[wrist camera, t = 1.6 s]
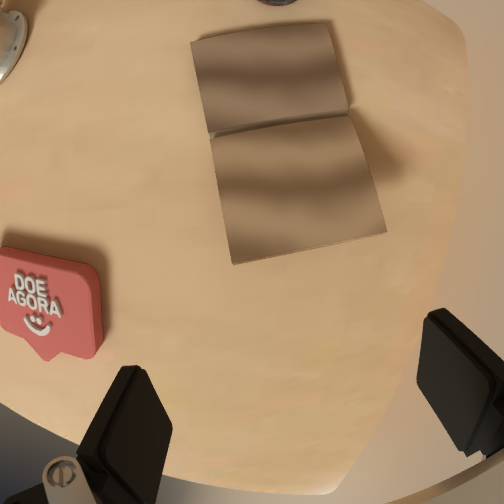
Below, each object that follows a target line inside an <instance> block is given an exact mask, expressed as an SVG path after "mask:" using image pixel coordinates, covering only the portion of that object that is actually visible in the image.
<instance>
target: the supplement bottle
mask: <svg viewBox="0 0 504 504" xmlns="http://www.w3.org/2000/svg"><path fill="white" fill-rule="evenodd" d="M258 1H260V2H262V3H264V4H267V5H272V6H284V5H288V4H291V3H293V2H295V1H296V0H258Z"/></svg>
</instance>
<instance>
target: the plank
mask: <svg viewBox="0 0 504 504" xmlns="http://www.w3.org/2000/svg"><path fill="white" fill-rule="evenodd" d="M210 143H211V149H212V155H213V161H214V167H215V172H216V178H217V184H218V189H219V195H220V201H221V206H222V212H223V217H224V223H225V228H226V234H227V239H228V245H229V250H230V255H231V260H232V264H233V265H236V264H241V263H246V262H251V261H256V260H261V259H266V258H271V257H276V256H281V255H286V254H291V253H295V252H300V251H305V250H310V249H315V248H320V247H325V246H329V245H334V244H339V243H344V242H348V241H353V240H358V239H363V238H367V237H372V236H377V235H382V234H384V233H386V232H387V229H386V225H385V221H384V217H383V214H382V210H381V206H380V203H379V199H378V196H377V193H376V189H375V186H374V183H373V179H372V176H371V173H370V170H369V167H368V164H367V161H366V158H365V155H364V152H363V149H362V146H361V144H360V141H359V138H358V135H357V133H356V130H355V127H354V125H353V122H352V119H351V117H350V116H346V117H337V118H328V119H320V120H312V121H305V122H298V123H291V124H285V125H278V126H272V127H267V128H261V129H256V130H250V131H245V132H240V133H235V134H231V135H226V136H221V137H217V138H213V139H210Z"/></svg>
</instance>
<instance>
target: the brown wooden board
mask: <svg viewBox="0 0 504 504" xmlns="http://www.w3.org/2000/svg"><path fill="white" fill-rule="evenodd" d="M190 45H191V50H192V55H193V60H194V65H195V70H196V75H197V80H198V85H199V90H200V95H201V100H202V104H203V109H204V114H205V119H206V123H207V128H208V133H209V135H210V139H213V138H217V137H221V136H226V135H231V134H235V133H240V132H245V131H250V130H256V129H261V128H267V127H272V126H278V125H285V124H291V123H298V122H305V121H312V120H320V119H328V118H337V117H346V116H348V114H347V110H349V108H348V103H347V98H346V94H345V90H344V86H343V81H342V77H341V73H340V70H339V66H338V62H337V58H336V55H335V51H334V48H333V44H332V41H331V37H330V34H329V31H328V27H327V24H326V23H323V24H302V25H289V26H279V27H270V28H262V29H255V30H248V31H242V32H236V33H230V34H225V35H220V36H215V37H210V38H206V39H202V40H197V41H193V42H190Z"/></svg>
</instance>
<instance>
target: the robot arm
mask: <svg viewBox="0 0 504 504" xmlns="http://www.w3.org/2000/svg"><path fill="white" fill-rule="evenodd" d="M2 1H3V0H0V83H1V82H2V81H3V80H4V79H5V78H6V77H7V76H8V74H9V73H10V71H11V70H12V69H13V67H14V65H15V64H16V62H17V60H18V58H19V56H20V54H21V52H22V50H23V47H24V45H25V41H26V37H27V32H28V22H27V18H26V17H25V15H24V14H22V13H21V12H18V11H9V12H6V13H4V12H3V8H2V7H1V5H2ZM416 379H417V384H418V387H419V389H420V390H421V391H422V393H423V395H424V396H425V398H426V399H427V401H428V402H429V404H430V405H431V407H432V408H433V410H434V412H435V413H436V415H437V416H438V418H439V420H440V421H441V423H442V424H443V426H444V428H445V429H446V431H447V433H448V434H449V436H450V437H451V439H452V441H453V442H454V444H455V446H456V447H457V449H458V450H459V451H463V452H464V453H465V455H466V457H468V456H470V455H472V454H474V453H475V452H477V451H479V450H480V451H481V452H482V454H483V456H482V461H481V462H480V463H478V464H476V465H474V466H472V467H470V468H469V469H467V470H465V471H463V472H461V473H459V474H457V475H455V476H453V477H451V478H449V479H447V480H444V481H442V482H440V483H438V484H436V485H433V486H431V487H429V488H427V489H424V490H422V491H419V492H417V493H414V494H412V495H409V496H407V497H404V498H401V499H398V500H395V501H393V502H390V503H386V504H504V361H503V360H502V359H501V358H500V357H499V356H498V355H497V354H496V353H495V352H493V351H492V350H491V349H490V348H489V347H488V346H487V345H486V344H485V343H484V342H483V341H482V340H481V339H480V338H478V337H477V336H476V335H475V334H474V333H473V332H472V331H471V330H470V329H468V328H467V327H466V326H465V325H464V324H463V323H462V322H461V321H459V320H458V319H457V318H456V317H455V316H454V315H453V314H451V313H450V312H449V311H448V310H447V309H445V308H441V309H437V310H434V311H431V312H429V313H428V315H427V317H426V318H425V319H424V322H423V332H422V342H421V350H420V358H419V365H418V371H417V378H416ZM172 430H173V428H172V423H171V421H170V419H169V417H168V415H167V413H166V411H165V409H164V407H163V405H162V403H161V401H160V399H159V397H158V395H157V393H156V391H155V389H154V387H153V385H152V383H151V381H150V378H149V376H148V374H147V372H146V371H145V370H144V369H141V367H140V366H138V365H133V366H122V367H121V368H120V370H119V372H118V374H117V376H116V377H115V379H114V381H113V383H112V385H111V387H110V388H109V390H108V392H107V394H106V396H105V398H104V399H103V401H102V403H101V405H100V407H99V409H98V411H97V413H96V414H95V416H94V418H93V420H92V422H91V424H90V426H89V428H88V430H87V432H86V434H85V436H84V438H83V440H82V442H81V444H80V446H79V448H78V450H77V452H76V453H77V454H78V456H77V458H76V460H75V459H74V458H72V457H68V456H62V457H59V458H56V459H54V460H52V461H51V462H50V463H49V464H48V465H47V466H46V468H45V469H44V472H43V483H41V484H38V485H36V486H34V487H32V488H29V489H27V490H25V491H22V492H20V493H17V494H15V495H13V496H11V497H9V498H8V499H6V500H5V501H4V503H3V504H155V502H156V497H157V493H158V489H159V485H160V480H161V476H162V472H163V468H164V464H165V459H166V455H167V451H168V447H169V443H170V439H171V435H172Z"/></svg>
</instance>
